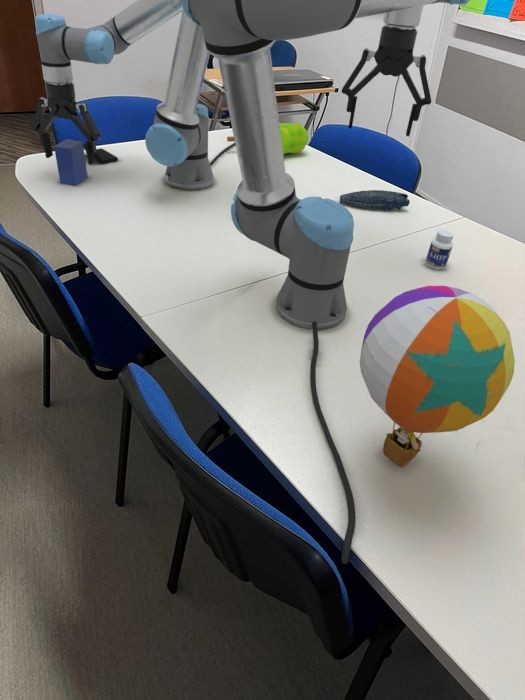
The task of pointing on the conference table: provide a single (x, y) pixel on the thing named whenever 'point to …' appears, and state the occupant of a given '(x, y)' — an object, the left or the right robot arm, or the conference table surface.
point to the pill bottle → (440, 249)
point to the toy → (435, 364)
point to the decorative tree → (290, 137)
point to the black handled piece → (102, 155)
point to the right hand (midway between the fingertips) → (378, 131)
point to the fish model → (376, 199)
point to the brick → (71, 162)
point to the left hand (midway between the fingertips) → (70, 160)
